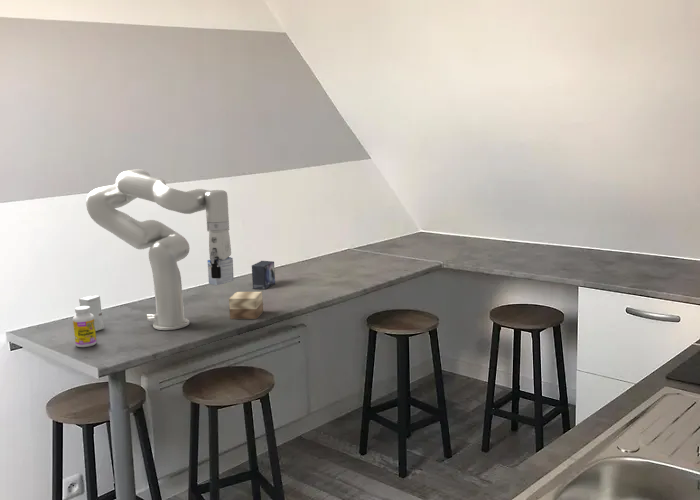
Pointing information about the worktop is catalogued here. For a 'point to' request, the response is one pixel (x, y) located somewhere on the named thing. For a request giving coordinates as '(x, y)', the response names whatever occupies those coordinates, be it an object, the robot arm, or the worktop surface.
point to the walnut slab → (246, 313)
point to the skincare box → (94, 309)
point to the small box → (263, 274)
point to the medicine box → (222, 272)
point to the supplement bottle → (84, 327)
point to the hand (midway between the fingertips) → (220, 274)
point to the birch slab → (245, 300)
